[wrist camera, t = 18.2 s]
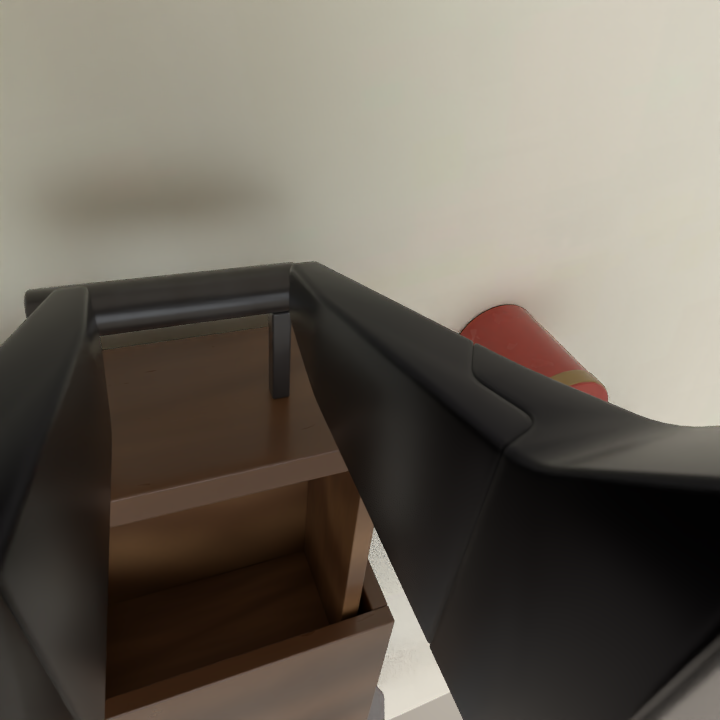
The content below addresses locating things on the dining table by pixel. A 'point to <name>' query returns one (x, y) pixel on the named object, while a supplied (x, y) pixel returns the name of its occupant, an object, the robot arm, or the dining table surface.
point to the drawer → (218, 479)
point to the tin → (531, 347)
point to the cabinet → (279, 676)
